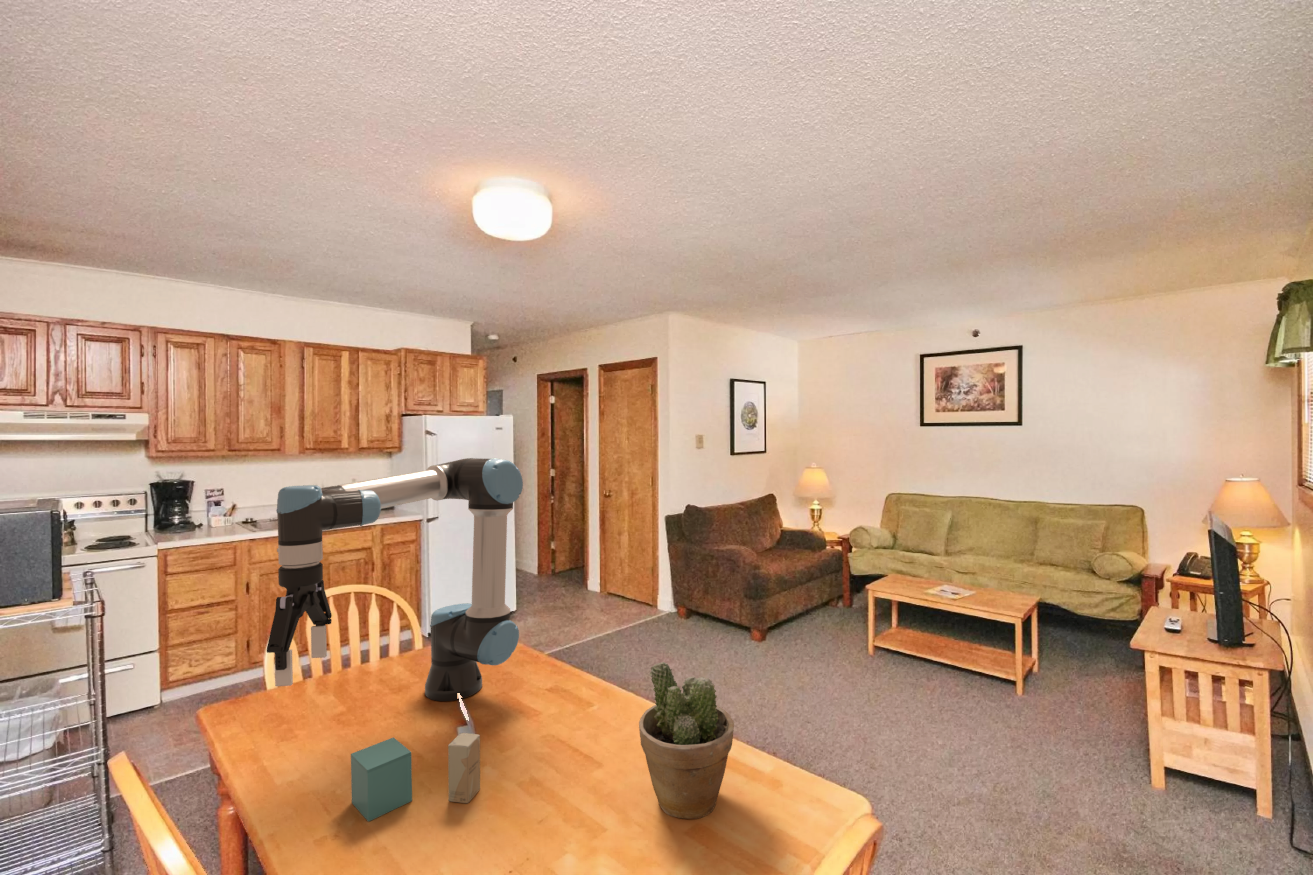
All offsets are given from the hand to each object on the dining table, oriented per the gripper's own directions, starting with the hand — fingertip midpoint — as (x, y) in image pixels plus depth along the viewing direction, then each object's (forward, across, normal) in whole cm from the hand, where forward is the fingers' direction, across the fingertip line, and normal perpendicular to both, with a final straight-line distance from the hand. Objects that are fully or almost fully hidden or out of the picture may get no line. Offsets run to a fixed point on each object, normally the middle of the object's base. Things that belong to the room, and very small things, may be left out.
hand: (302, 670), depth 116 cm
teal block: (+25, +4, +16) cm, 30 cm away
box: (+25, +4, +32) cm, 41 cm away
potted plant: (+25, +11, +75) cm, 80 cm away
